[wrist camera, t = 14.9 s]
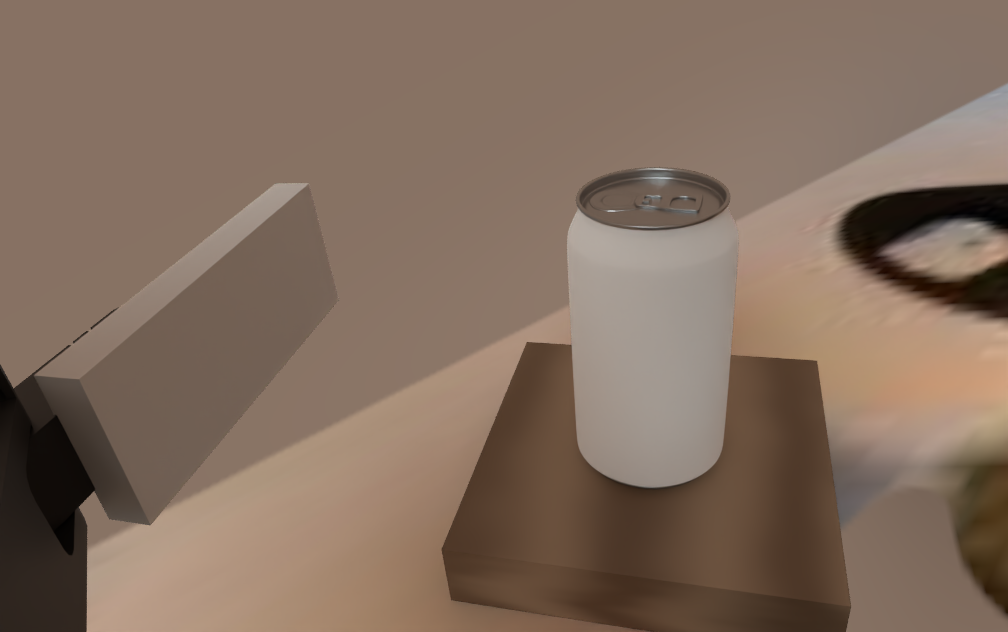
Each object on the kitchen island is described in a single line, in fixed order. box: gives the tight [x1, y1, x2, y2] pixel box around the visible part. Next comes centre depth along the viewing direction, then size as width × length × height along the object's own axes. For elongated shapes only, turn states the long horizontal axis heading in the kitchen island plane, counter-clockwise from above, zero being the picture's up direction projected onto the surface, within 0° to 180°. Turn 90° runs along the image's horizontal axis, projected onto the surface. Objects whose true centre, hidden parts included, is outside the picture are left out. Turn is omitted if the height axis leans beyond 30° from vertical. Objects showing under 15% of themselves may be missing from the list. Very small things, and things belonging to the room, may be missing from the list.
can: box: [567, 167, 739, 489], centre depth 32 cm, size 6×6×12 cm
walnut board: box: [442, 342, 851, 632], centre depth 36 cm, size 15×15×3 cm
